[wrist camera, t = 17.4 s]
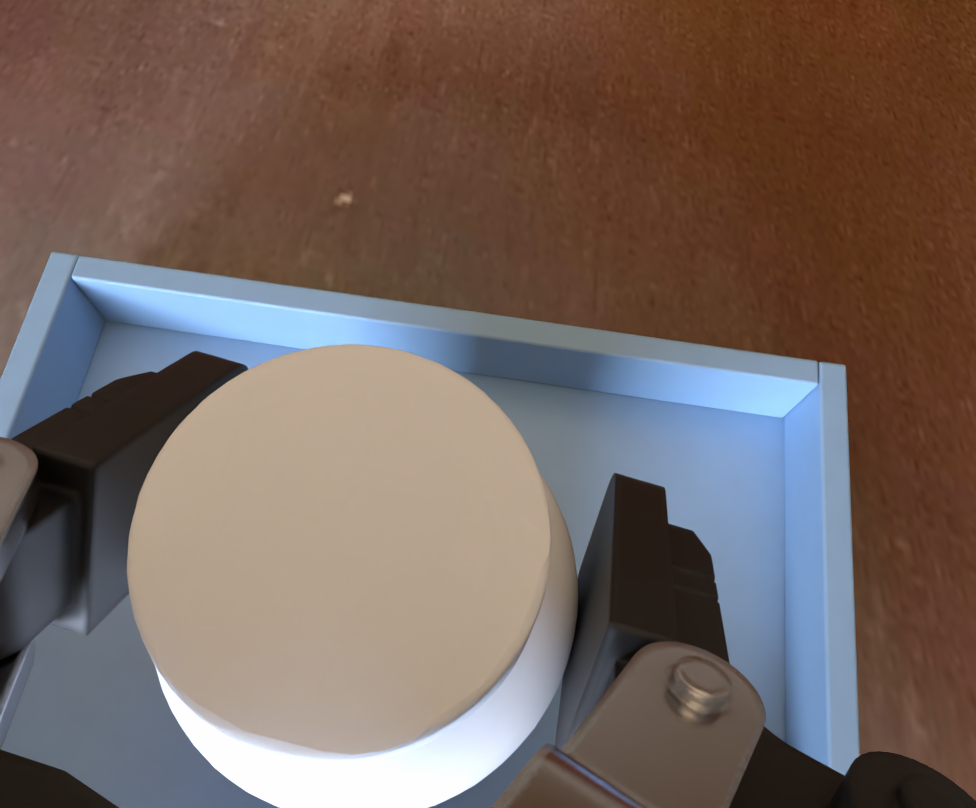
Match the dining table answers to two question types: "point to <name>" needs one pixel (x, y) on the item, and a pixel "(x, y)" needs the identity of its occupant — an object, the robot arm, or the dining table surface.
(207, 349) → the tray
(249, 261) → the dining table surface
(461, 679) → the pill bottle
